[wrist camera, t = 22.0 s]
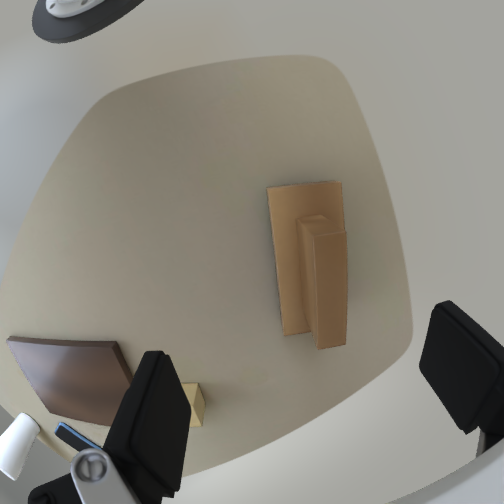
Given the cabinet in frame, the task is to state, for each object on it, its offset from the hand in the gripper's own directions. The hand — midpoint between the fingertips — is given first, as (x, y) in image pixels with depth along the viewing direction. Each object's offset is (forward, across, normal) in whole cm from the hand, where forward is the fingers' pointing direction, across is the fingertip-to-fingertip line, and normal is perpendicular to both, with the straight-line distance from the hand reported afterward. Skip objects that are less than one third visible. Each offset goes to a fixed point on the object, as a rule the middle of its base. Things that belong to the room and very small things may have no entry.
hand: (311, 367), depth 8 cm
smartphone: (+14, +35, +33) cm, 50 cm away
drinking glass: (+14, +50, +29) cm, 59 cm away
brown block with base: (+14, -2, +1) cm, 14 cm away
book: (+14, +27, +15) cm, 33 cm away
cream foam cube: (+14, +11, +15) cm, 23 cm away
